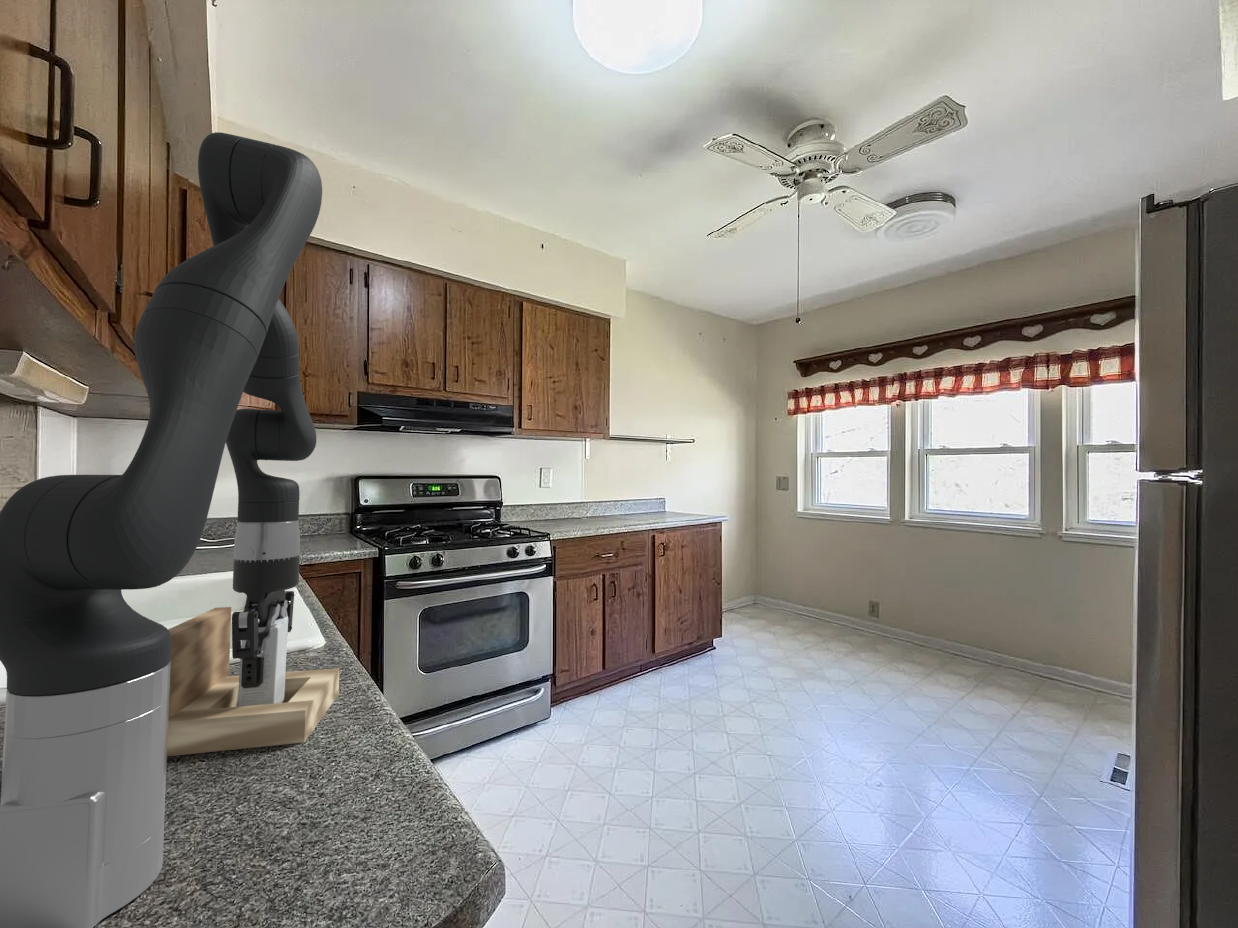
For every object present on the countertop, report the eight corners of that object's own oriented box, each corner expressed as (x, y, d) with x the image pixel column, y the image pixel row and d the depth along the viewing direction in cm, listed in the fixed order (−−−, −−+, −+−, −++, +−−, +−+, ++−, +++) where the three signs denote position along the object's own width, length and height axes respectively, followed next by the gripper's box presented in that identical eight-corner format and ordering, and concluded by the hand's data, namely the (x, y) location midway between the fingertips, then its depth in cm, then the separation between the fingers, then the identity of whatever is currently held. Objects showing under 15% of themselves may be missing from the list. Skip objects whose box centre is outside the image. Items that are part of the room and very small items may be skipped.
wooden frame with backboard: (303, 744, 64) (306, 630, 65) (140, 760, 60) (145, 639, 61) (339, 693, 80) (342, 602, 80) (212, 703, 76) (215, 607, 76)
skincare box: (249, 704, 72) (252, 617, 73) (286, 700, 74) (289, 614, 74) (234, 724, 66) (238, 629, 67) (275, 718, 68) (278, 625, 68)
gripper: (277, 560, 65) (273, 695, 64) (315, 547, 79) (311, 657, 78) (208, 562, 63) (202, 701, 62) (259, 548, 77) (255, 661, 76)
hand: (263, 676), depth 70 cm, fingers closed on skincare box, 6 cm apart
